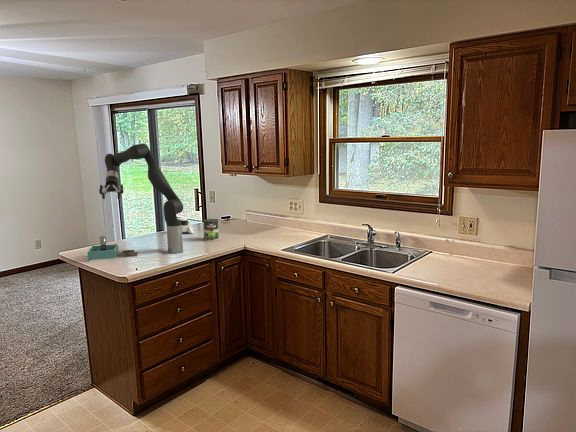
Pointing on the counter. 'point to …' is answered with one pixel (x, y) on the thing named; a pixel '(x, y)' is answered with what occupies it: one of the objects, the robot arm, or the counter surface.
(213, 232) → the coffee can
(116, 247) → the bin
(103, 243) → the tube
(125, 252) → the square framed wooden base
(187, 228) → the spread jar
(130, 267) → the counter surface
